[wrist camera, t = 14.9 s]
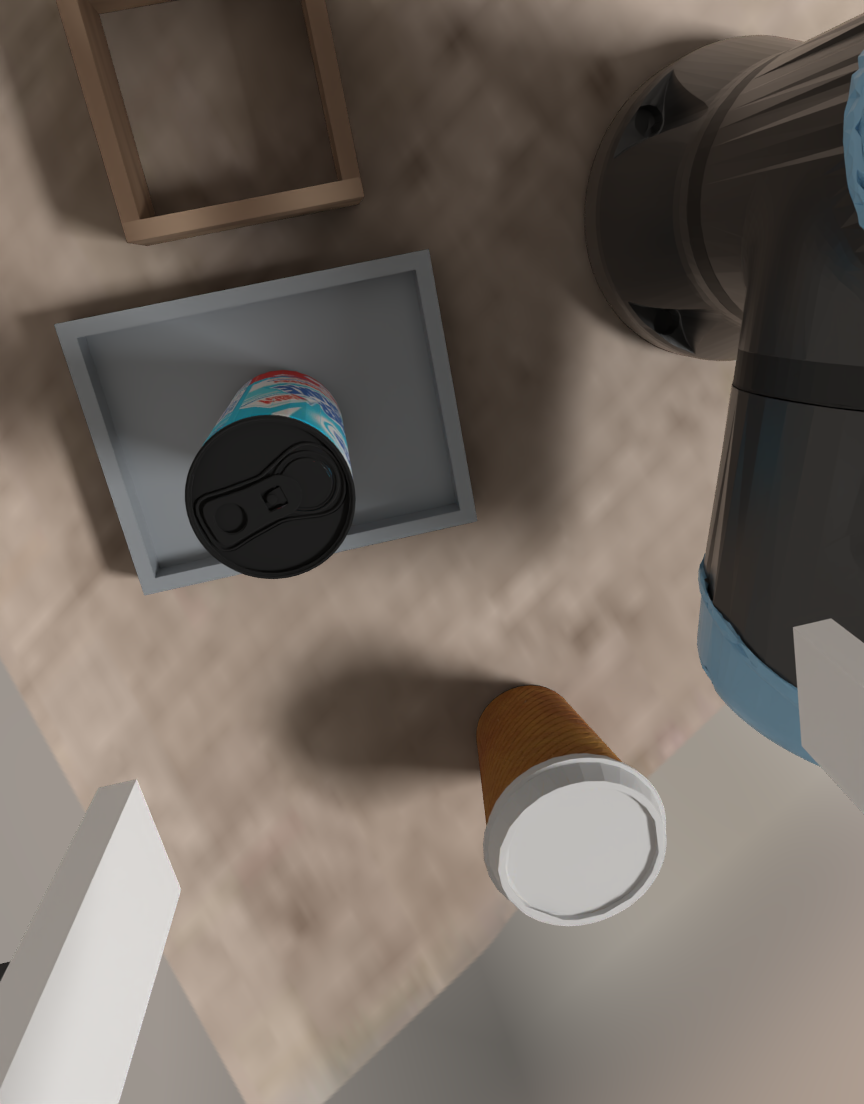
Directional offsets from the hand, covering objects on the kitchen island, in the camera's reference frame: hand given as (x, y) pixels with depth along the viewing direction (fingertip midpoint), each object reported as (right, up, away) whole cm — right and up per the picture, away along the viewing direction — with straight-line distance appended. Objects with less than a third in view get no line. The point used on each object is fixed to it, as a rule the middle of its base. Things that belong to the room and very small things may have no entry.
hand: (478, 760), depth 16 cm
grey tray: (-9, +11, +28) cm, 31 cm away
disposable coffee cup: (+5, -7, +36) cm, 37 cm away
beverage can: (-9, +11, +27) cm, 30 cm away
